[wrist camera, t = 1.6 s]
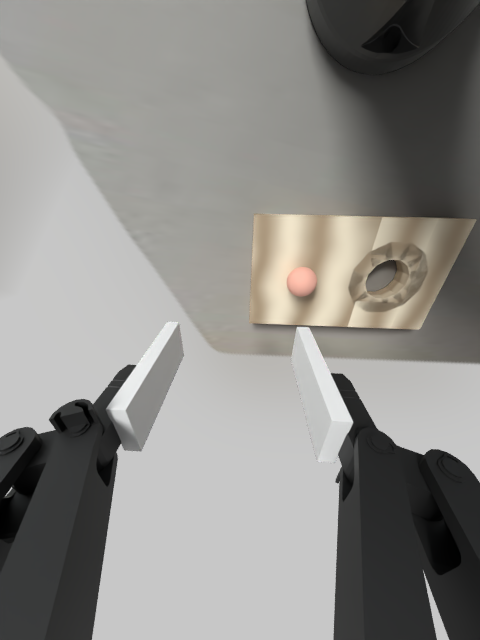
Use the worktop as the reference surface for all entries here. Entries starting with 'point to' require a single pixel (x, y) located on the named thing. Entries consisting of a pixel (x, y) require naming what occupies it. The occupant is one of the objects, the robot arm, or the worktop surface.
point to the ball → (301, 281)
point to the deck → (351, 268)
